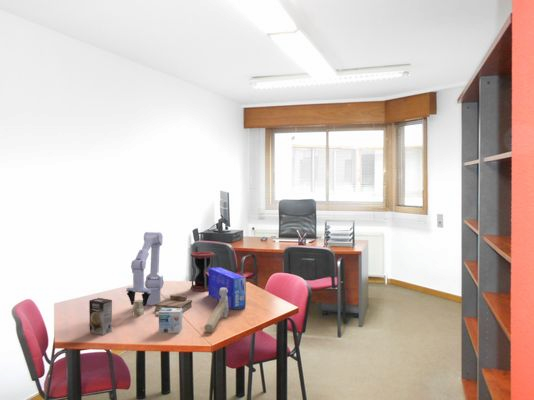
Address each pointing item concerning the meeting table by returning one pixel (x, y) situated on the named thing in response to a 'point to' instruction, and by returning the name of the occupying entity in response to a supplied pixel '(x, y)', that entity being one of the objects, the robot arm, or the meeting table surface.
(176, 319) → the light bulb box
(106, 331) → the coffee box
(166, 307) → the cream rectangular tray
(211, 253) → the hourglass
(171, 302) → the lid
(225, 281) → the toner cartridge box
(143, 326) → the meeting table surface
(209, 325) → the hammer
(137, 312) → the cream rectangular block
